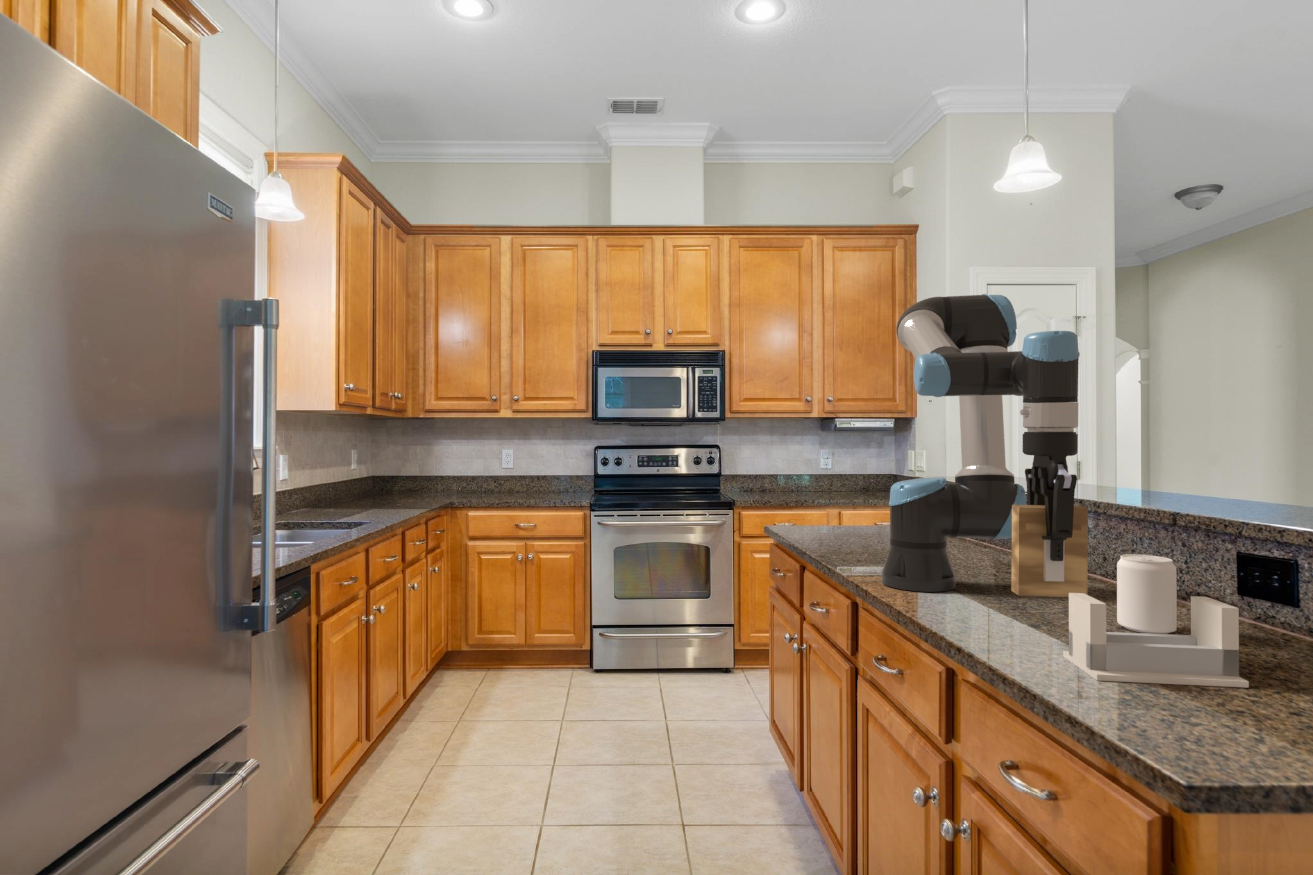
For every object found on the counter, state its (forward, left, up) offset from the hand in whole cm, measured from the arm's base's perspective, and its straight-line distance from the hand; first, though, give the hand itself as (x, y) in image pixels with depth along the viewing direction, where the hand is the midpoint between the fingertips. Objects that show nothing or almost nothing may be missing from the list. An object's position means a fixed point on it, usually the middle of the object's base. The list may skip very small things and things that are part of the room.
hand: (1048, 577), depth 106 cm
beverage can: (-9, +19, -10) cm, 23 cm away
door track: (+13, +8, -10) cm, 18 cm away
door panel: (0, 0, -3) cm, 3 cm away
